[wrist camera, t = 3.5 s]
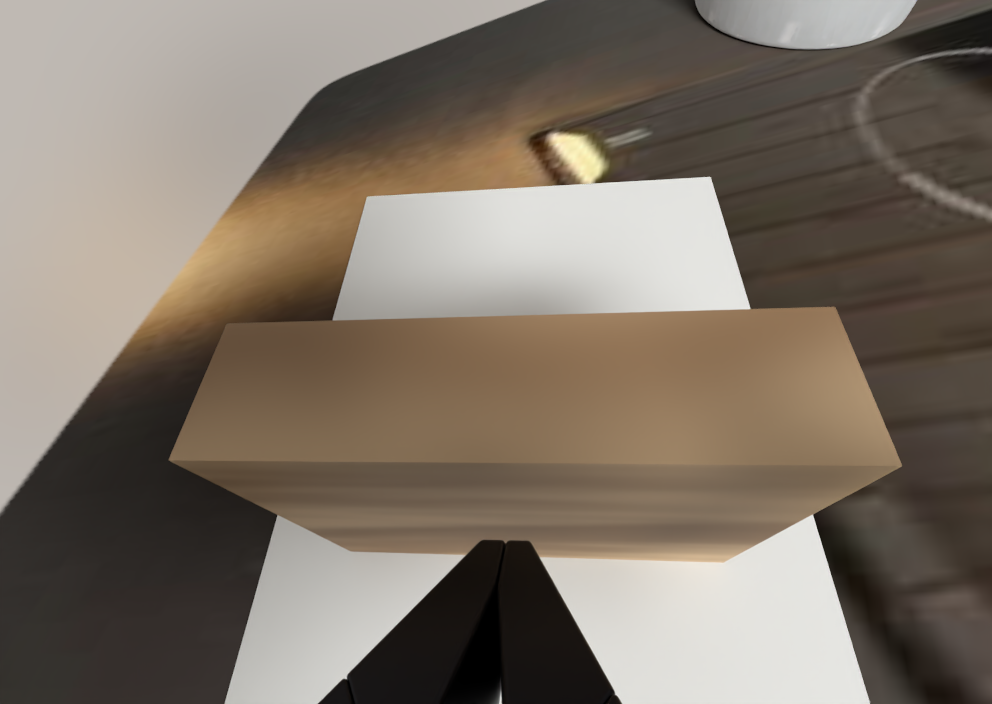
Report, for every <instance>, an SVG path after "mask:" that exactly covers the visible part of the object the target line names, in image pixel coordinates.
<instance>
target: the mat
mask: <svg viewBox="0 0 992 704" xmlns="http://www.w3.org/2000/svg"><path fill="white" fill-rule="evenodd" d="M738 309H750V306H749V302H748V299H747V296H746V293H745V289H744V286H743V283H742V279H741V276H740V273H739V269H738V266H737V263H736V260H735V256H734V253H733V250H732V246H731V243H730V240H729V236H728V233H727V230H726V227H725V223H724V220H723V217H722V213H721V210H720V207H719V203H718V200H717V197H716V193H715V190H714V187H713V184H712V180H711V177H701V178H684V179H666V180H649V181H631V182H614V183H596V184H579V185H561V186H544V187H527V188H509V189H492V190H474V191H457V192H439V193H422V194H404V195H387V196H369V197H367V199H366V203H365V206H364V210H363V213H362V217H361V220H360V224H359V227H358V231H357V235H356V238H355V242H354V245H353V249H352V252H351V256H350V259H349V263H348V267H347V270H346V274H345V277H344V281H343V284H342V288H341V291H340V295H339V299H338V302H337V306H336V309H335V313H334V316H333V320H370V319H407V318H444V317H481V316H517V315H554V314H591V313H628V312H665V311H702V310H738ZM333 320H332V321H333ZM464 556H465V555H449V554H415V553H382V552H351V551H349V550H347V549H345V548H343V547H341V546H339V545H337V544H335V543H333V542H331V541H329V540H327V539H325V538H323V537H321V536H319V535H317V534H315V533H313V532H311V531H309V530H307V529H305V528H303V527H301V526H299V525H297V524H295V523H293V522H291V521H289V520H287V519H285V518H283V517H281V516H279V515H277V519H276V523H275V526H274V530H273V533H272V537H271V540H270V544H269V547H268V551H267V555H266V558H265V562H264V565H263V569H262V572H261V576H260V579H259V583H258V587H257V590H256V594H255V597H254V601H253V604H252V608H251V611H250V615H249V619H248V622H247V626H246V629H245V633H244V636H243V640H242V643H241V647H240V651H239V654H238V658H237V661H236V665H235V668H234V672H233V675H232V679H231V683H230V686H229V690H228V693H227V697H226V700H225V704H318V703H319V702H320V701H321V700H322V699H323V698H324V697H325V696H326V695H327V694H328V693H329V692H330V691H331V690H332V689H333V688H334V687H335V686H336V685H337V684H338V683H339V682H340V681H341V680H342V679H344V678H345V679H347V674H348V673H349V672H350V671H351V670H352V669H353V668H354V667H355V666H356V665H357V664H358V663H359V662H360V661H361V660H362V659H363V658H364V657H365V656H366V655H367V654H368V653H369V652H370V651H371V650H372V649H373V648H374V647H375V646H376V645H377V644H378V643H379V642H380V641H381V640H382V639H383V638H384V637H385V636H386V635H387V634H388V633H389V632H390V631H391V630H392V629H393V628H394V627H395V626H396V625H397V624H398V623H399V622H400V621H401V620H402V619H403V618H404V617H405V616H406V615H407V614H408V613H409V612H410V611H411V610H412V609H413V608H414V607H415V606H416V605H417V604H418V603H419V602H420V601H421V600H422V599H423V598H424V597H425V596H426V595H427V594H428V593H429V592H430V591H431V590H432V589H433V588H434V587H435V586H436V585H437V584H438V583H439V582H440V581H441V580H442V579H443V578H444V577H445V576H446V575H447V574H448V573H449V571H450V570H451V569H452V568H453V567H454V566H455V565H456V564H457V563H458V562H459V561H460V560H461V559H462V558H463V557H464ZM540 559H541V561H542V562H543V564H544V566H545V568H546V570H547V571H548V573H549V575H550V577H551V578H552V580H553V582H554V584H555V586H556V587H557V589H558V591H559V593H560V594H561V596H562V598H563V600H564V602H565V603H566V605H567V607H568V609H569V611H570V612H571V614H572V616H573V618H574V619H575V621H576V623H577V625H578V627H579V628H580V630H581V632H582V634H583V635H584V637H585V639H586V641H587V643H588V644H589V646H590V648H591V650H592V651H593V653H594V655H595V657H596V659H597V660H598V662H599V664H600V666H601V667H602V669H603V671H604V673H605V675H606V676H607V678H608V680H609V682H610V683H611V685H612V687H613V689H614V691H615V695H617V696H618V697H619V699H620V701H621V702H622V704H870V702H869V699H868V695H867V692H866V689H865V685H864V682H863V679H862V676H861V672H860V669H859V666H858V662H857V659H856V656H855V652H854V649H853V646H852V643H851V639H850V636H849V633H848V629H847V626H846V623H845V619H844V616H843V613H842V610H841V606H840V603H839V600H838V596H837V593H836V590H835V586H834V583H833V580H832V577H831V573H830V570H829V567H828V563H827V560H826V557H825V553H824V550H823V547H822V544H821V540H820V537H819V534H818V530H817V527H816V524H815V520H814V517H813V515H811V516H809V517H807V518H805V519H803V520H802V521H800V522H798V523H796V524H794V525H792V526H790V527H789V528H787V529H785V530H783V531H781V532H779V533H777V534H776V535H774V536H772V537H770V538H768V539H766V540H764V541H763V542H761V543H759V544H757V545H755V546H753V547H751V548H750V549H748V550H746V551H744V552H742V553H740V554H739V555H737V556H735V557H733V558H731V559H729V560H727V561H726V562H724V563H717V562H684V561H650V560H617V559H583V558H550V557H540ZM499 704H502V698H501V695H500V702H499Z"/></svg>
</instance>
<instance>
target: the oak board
mask: <svg viewBox="0 0 992 704" xmlns="http://www.w3.org/2000/svg"><path fill="white" fill-rule="evenodd" d="M169 461H171V462H173V463H175V464H177V465H179V466H181V467H183V468H185V469H187V470H189V471H191V472H193V473H195V474H197V475H199V476H201V477H203V478H205V479H207V480H209V481H211V482H213V483H215V484H217V485H219V486H221V487H223V488H225V489H227V490H229V491H231V492H233V493H235V494H237V495H239V496H241V497H243V498H245V499H247V500H249V501H251V502H253V503H255V504H257V505H259V506H261V507H263V508H265V509H267V510H269V511H271V512H273V513H275V514H277V515H279V516H281V517H283V518H285V519H287V520H289V521H291V522H293V523H295V524H297V525H299V526H301V527H303V528H305V529H307V530H309V531H311V532H313V533H315V534H317V535H319V536H321V537H323V538H325V539H327V540H329V541H331V542H333V543H335V544H337V545H339V546H341V547H343V548H345V549H347V550H349V551H351V552H382V553H415V554H449V555H466V554H467V553H468V552H469V551H470V550H471V549H472V548H473V547H474V546H475V545H476V544H477V543H478V542H479V541H481V540H484V539H485V540H503V541H504V542H505V544H506V542H507V541H509V540H527V541H530V542H531V543H532V545H533V546H534V548H535V550H536V552H537V554H538V555H539V557H550V558H583V559H617V560H650V561H684V562H717V563H724V562H726V561H727V560H729V559H731V558H733V557H735V556H737V555H739V554H740V553H742V552H744V551H746V550H748V549H750V548H751V547H753V546H755V545H757V544H759V543H761V542H763V541H764V540H766V539H768V538H770V537H772V536H774V535H776V534H777V533H779V532H781V531H783V530H785V529H787V528H789V527H790V526H792V525H794V524H796V523H798V522H800V521H802V520H803V519H805V518H807V517H809V516H811V515H813V514H814V513H816V512H818V511H820V510H822V509H824V508H826V507H827V506H829V505H831V504H833V503H835V502H837V501H839V500H840V499H842V498H844V497H846V496H848V495H850V494H852V493H853V492H855V491H857V490H859V489H861V488H863V487H865V486H866V485H868V484H870V483H872V482H874V481H876V480H877V479H879V478H881V477H883V476H885V475H887V474H889V473H890V472H892V471H894V470H896V469H898V468H900V467H902V464H901V462H900V459H899V457H898V455H897V452H896V450H895V447H894V445H893V443H892V440H891V438H890V436H889V433H888V431H887V429H886V426H885V424H884V421H883V419H882V417H881V414H880V412H879V410H878V407H877V405H876V403H875V400H874V398H873V395H872V393H871V391H870V388H869V386H868V384H867V381H866V379H865V377H864V374H863V372H862V369H861V367H860V365H859V362H858V360H857V358H856V355H855V353H854V351H853V348H852V346H851V343H850V341H849V339H848V336H847V334H846V332H845V329H844V327H843V325H842V322H841V320H840V317H839V315H838V313H837V310H836V308H835V307H812V308H775V309H738V310H702V311H665V312H628V313H591V314H554V315H517V316H481V317H444V318H407V319H370V320H333V321H296V322H260V323H227V324H226V326H225V329H224V331H223V333H222V336H221V338H220V340H219V343H218V345H217V347H216V350H215V352H214V354H213V357H212V359H211V361H210V364H209V366H208V368H207V371H206V373H205V375H204V378H203V380H202V383H201V385H200V387H199V390H198V392H197V394H196V397H195V399H194V401H193V404H192V406H191V408H190V411H189V413H188V415H187V418H186V420H185V422H184V425H183V427H182V429H181V432H180V434H179V437H178V439H177V441H176V444H175V446H174V448H173V451H172V453H171V455H170V458H169Z"/></svg>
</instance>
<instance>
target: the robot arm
mask: <svg viewBox="0 0 992 704" xmlns="http://www.w3.org/2000/svg"><path fill="white" fill-rule="evenodd" d="M500 695H501V698H502V704H622V702H621V701H620V699H619V697H618V696H617V695H615V691H614V689H613V687H612V685H611V683H610V682H609V680H608V678H607V676H606V675H605V673H604V671H603V669H602V667H601V666H600V664H599V662H598V660H597V659H596V657H595V655H594V653H593V651H592V650H591V648H590V646H589V644H588V643H587V641H586V639H585V637H584V635H583V634H582V632H581V630H580V628H579V627H578V625H577V623H576V621H575V619H574V618H573V616H572V614H571V612H570V611H569V609H568V607H567V605H566V603H565V602H564V600H563V598H562V596H561V594H560V593H559V591H558V589H557V587H556V586H555V584H554V582H553V580H552V578H551V577H550V575H549V573H548V571H547V570H546V568H545V566H544V564H543V562H542V561H541V559H540V557H539V555H538V554H537V552H536V550H535V548H534V546H533V545H532V543H531V542H530V541H527V540H509V541H507V542H506V544H505V542H504V541H503V540H485V539H484V540H481V541H479V542H478V543H477V544H476V545H475V546H474V547H473V548H472V549H471V550H470V551H469V552H468V553H467V554H466V555H465V556H464V557H463V558H462V559H461V560H460V561H459V562H458V563H457V564H456V565H455V566H454V567H453V568H452V569H451V570H450V571H449V573H448V574H447V575H446V576H445V577H444V578H443V579H442V580H441V581H440V582H439V583H438V584H437V585H436V586H435V587H434V588H433V589H432V590H431V591H430V592H429V593H428V594H427V595H426V596H425V597H424V598H423V599H422V600H421V601H420V602H419V603H418V604H417V605H416V606H415V607H414V608H413V609H412V610H411V611H410V612H409V613H408V614H407V615H406V616H405V617H404V618H403V619H402V620H401V621H400V622H399V623H398V624H397V625H396V626H395V627H394V628H393V629H392V630H391V631H390V632H389V633H388V634H387V635H386V636H385V637H384V638H383V639H382V640H381V641H380V642H379V643H378V644H377V645H376V646H375V647H374V648H373V649H372V650H371V651H370V652H369V653H368V654H367V655H366V656H365V657H364V658H363V659H362V660H361V661H360V662H359V663H358V664H357V665H356V666H355V667H354V668H353V669H352V670H351V671H350V672H349V673H348V674H347V679H345V678H344V679H342V680H341V681H340V682H339V683H338V684H337V685H336V686H335V687H334V688H333V689H332V690H331V691H330V692H329V693H328V694H327V695H326V696H325V697H324V698H323V699H322V700H321V701H320V702H319V703H318V704H499V702H500Z"/></svg>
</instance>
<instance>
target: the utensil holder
mask: <svg viewBox="0 0 992 704" xmlns="http://www.w3.org/2000/svg"><path fill="white" fill-rule="evenodd" d="M916 1H917V0H695V4H696V7H697V10H698V11H699V13H700V14H701V16H702V17H703V18H704V19H705V20H706V21H707V22H708V23H709V24H711V25H712V26H713V27H715V28H716V29H718V30H720V31H722V32H724V33H726V34H728V35H730V36H733V37H735V38H738V39H741V40H744V41H748V42H752V43H756V44H760V45H766V46H772V47H778V48H788V49H833V48H841V47H848V46H853V45H858V44H862V43H865V42H869V41H872V40H874V39H877V38H879V37H881V36H883V35H886V34H888V33H889V32H891V31H892V30H894V29H895V28H897V27H898V26H899V25H900V24H901V23H902V22H903V21H904V20H905V18H906V17H907V16H908V14H909V12H910V11H911V9H912V8H913V6H914V5H915V3H916Z"/></svg>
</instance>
